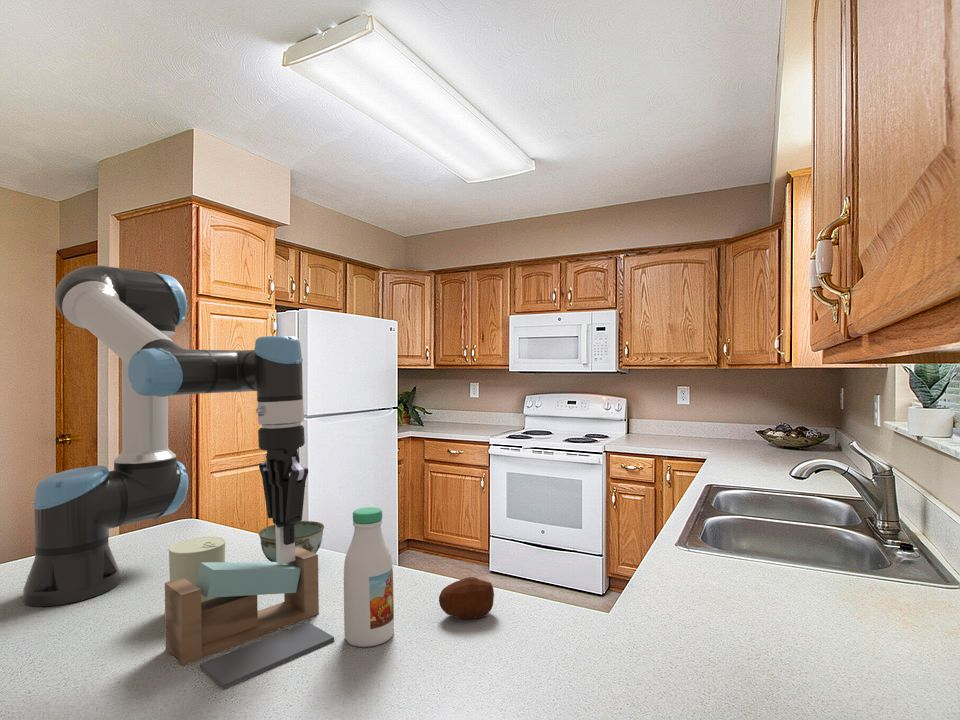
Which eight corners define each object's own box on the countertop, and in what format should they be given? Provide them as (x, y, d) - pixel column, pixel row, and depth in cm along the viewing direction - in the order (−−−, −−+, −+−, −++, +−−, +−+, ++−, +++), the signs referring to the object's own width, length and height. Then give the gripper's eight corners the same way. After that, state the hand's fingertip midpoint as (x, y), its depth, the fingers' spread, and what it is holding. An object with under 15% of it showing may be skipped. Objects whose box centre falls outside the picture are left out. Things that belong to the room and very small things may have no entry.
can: (203, 622, 93) (202, 551, 93) (156, 618, 95) (155, 549, 95) (237, 599, 102) (236, 535, 102) (194, 596, 104) (193, 533, 104)
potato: (493, 626, 90) (492, 587, 90) (436, 626, 90) (436, 587, 90) (494, 607, 97) (493, 571, 97) (442, 607, 97) (441, 571, 97)
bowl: (313, 577, 112) (312, 538, 112) (248, 578, 112) (247, 539, 113) (332, 554, 126) (331, 519, 126) (273, 555, 126) (273, 520, 126)
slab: (194, 588, 86) (200, 562, 87) (281, 585, 97) (286, 561, 98) (206, 597, 83) (213, 570, 84) (295, 592, 93) (301, 568, 94)
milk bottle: (351, 653, 82) (349, 519, 82) (339, 631, 89) (337, 508, 89) (400, 640, 85) (398, 512, 86) (385, 620, 92) (383, 501, 92)
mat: (199, 667, 79) (199, 663, 79) (307, 625, 91) (307, 621, 91) (223, 689, 73) (223, 684, 73) (334, 640, 86) (334, 637, 86)
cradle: (165, 649, 84) (164, 582, 84) (298, 602, 100) (297, 546, 100) (182, 666, 79) (181, 595, 79) (318, 613, 95) (317, 554, 96)
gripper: (242, 425, 97) (247, 559, 96) (279, 429, 88) (284, 577, 88) (282, 421, 102) (287, 548, 102) (320, 424, 93) (325, 563, 93)
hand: (286, 561), depth 95 cm, fingers closed
